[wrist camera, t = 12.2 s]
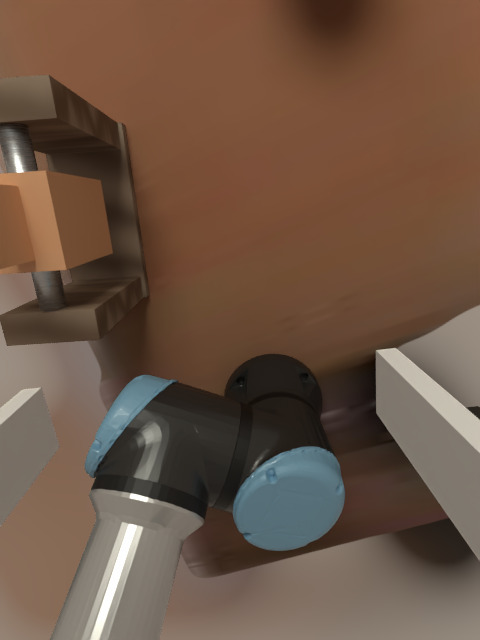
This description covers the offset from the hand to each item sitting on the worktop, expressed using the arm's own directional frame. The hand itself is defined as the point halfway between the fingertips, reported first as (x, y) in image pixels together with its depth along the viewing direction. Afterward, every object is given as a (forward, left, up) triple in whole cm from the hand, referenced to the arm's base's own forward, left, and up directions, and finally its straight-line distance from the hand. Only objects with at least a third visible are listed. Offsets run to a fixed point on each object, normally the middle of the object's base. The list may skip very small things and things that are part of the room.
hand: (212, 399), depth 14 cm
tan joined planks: (+7, +17, -30) cm, 35 cm away
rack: (+7, +17, -39) cm, 43 cm away
